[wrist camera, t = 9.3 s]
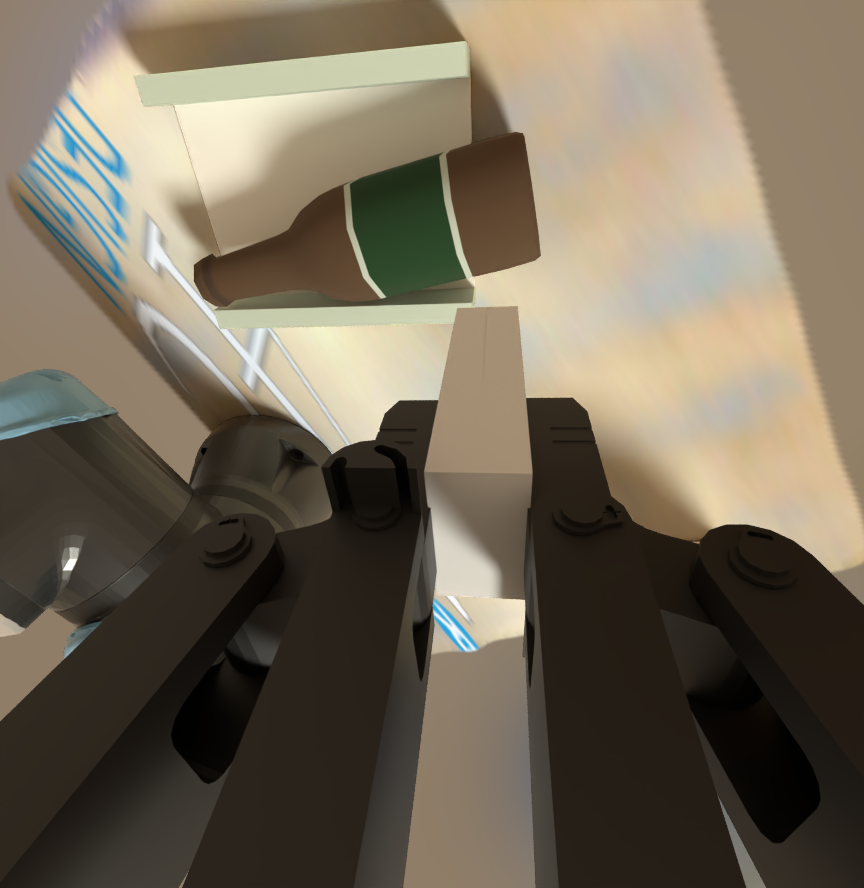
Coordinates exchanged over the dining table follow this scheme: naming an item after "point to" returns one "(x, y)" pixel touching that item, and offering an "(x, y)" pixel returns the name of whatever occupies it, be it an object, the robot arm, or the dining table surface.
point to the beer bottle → (395, 231)
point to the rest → (316, 157)
